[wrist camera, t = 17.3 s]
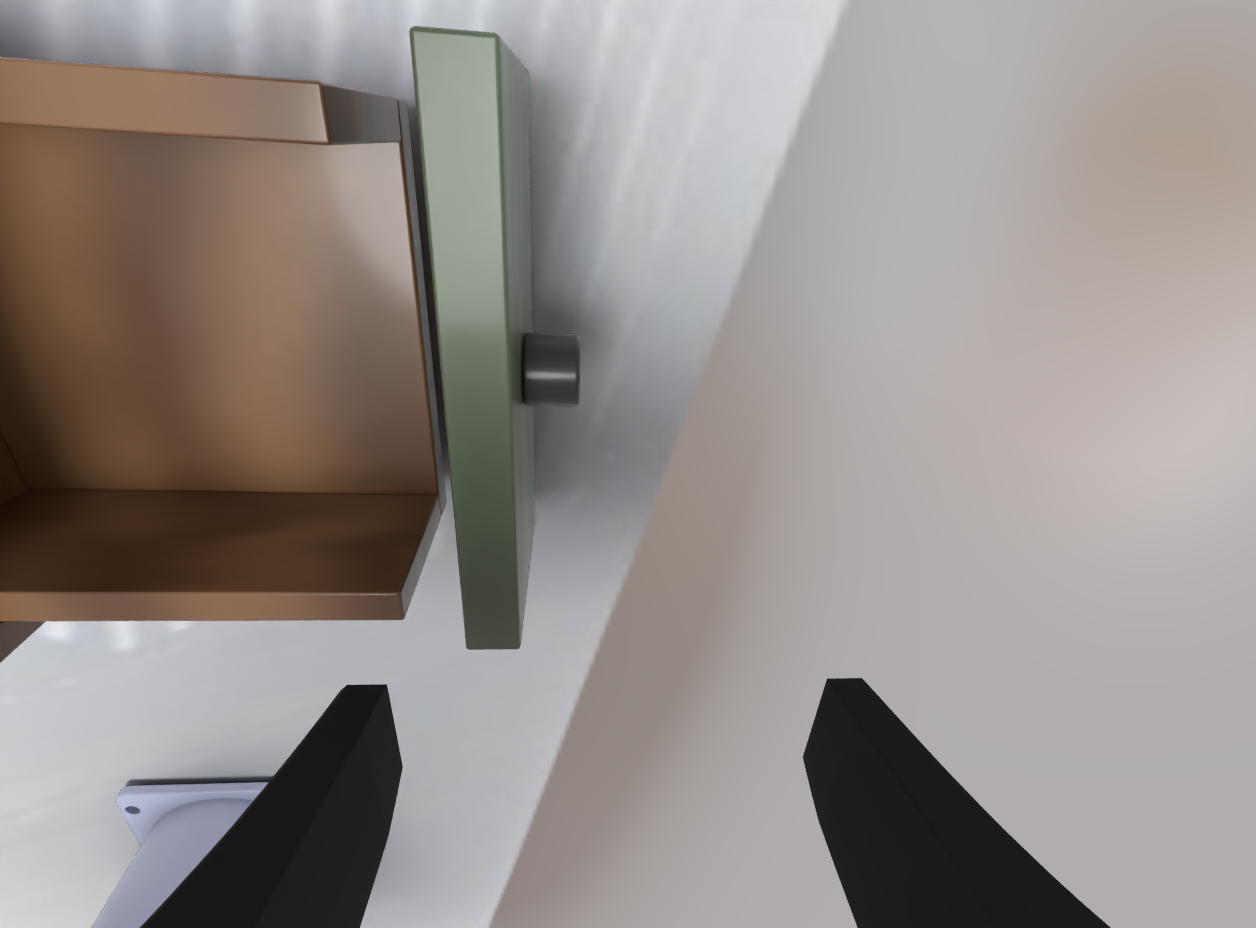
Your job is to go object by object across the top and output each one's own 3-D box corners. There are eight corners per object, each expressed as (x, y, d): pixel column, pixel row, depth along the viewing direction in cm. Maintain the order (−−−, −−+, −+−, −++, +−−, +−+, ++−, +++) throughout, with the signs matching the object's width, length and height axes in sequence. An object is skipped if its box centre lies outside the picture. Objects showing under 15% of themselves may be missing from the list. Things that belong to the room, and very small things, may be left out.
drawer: (585, 73, 13) (588, 40, 8) (575, 519, 18) (573, 650, 14) (-186, 13, 11) (-703, -68, 7) (52, 512, 17) (-148, 656, 12)
